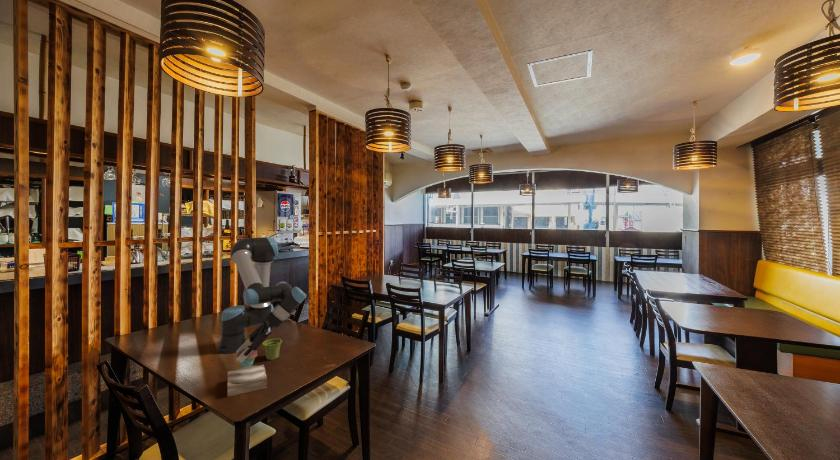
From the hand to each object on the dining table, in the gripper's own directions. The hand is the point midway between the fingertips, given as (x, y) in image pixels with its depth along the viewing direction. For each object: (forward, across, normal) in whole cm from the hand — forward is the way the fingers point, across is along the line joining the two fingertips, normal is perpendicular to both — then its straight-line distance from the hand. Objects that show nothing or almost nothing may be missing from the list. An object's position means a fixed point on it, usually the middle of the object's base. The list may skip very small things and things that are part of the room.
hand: (238, 357), depth 142 cm
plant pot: (-2, +24, -21) cm, 32 cm away
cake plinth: (+7, 0, -12) cm, 14 cm away
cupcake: (+1, 0, -5) cm, 5 cm away
